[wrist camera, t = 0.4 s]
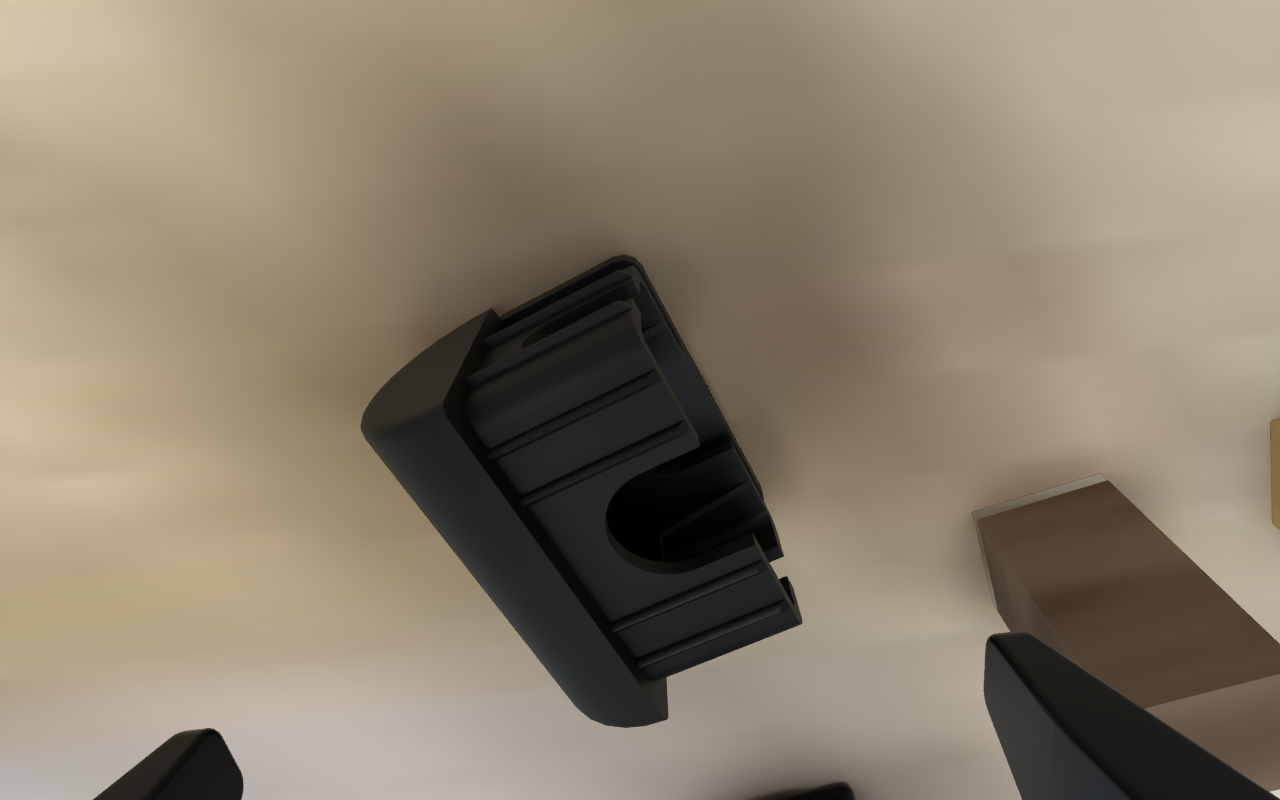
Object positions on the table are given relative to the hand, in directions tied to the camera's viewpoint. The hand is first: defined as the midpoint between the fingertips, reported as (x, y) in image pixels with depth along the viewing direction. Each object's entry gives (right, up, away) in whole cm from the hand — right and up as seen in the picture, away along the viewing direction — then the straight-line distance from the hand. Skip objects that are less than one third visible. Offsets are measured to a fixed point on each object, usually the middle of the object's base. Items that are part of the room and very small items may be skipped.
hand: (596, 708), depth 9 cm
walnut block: (+14, -1, +16) cm, 21 cm away
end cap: (-1, +3, +14) cm, 15 cm away
